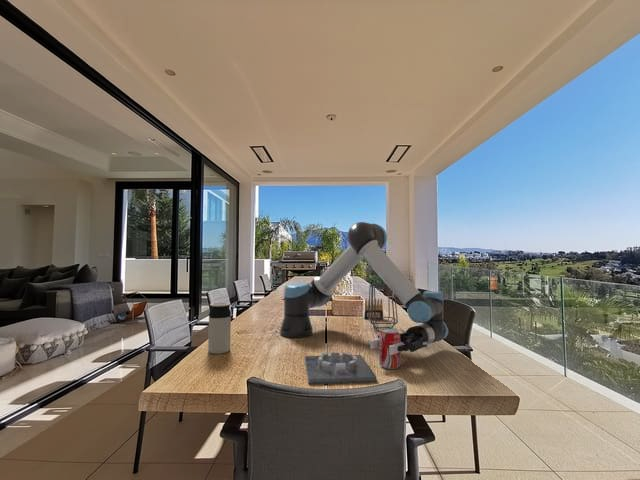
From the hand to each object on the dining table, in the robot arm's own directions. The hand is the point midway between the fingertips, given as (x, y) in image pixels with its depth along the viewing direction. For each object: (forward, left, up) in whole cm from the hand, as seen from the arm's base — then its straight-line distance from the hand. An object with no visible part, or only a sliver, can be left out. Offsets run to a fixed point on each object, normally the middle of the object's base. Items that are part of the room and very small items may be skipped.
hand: (380, 347), depth 103 cm
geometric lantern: (+16, +53, -7) cm, 56 cm away
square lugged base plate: (-14, +1, -7) cm, 16 cm away
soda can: (+4, +3, -7) cm, 9 cm away
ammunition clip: (+19, +78, -7) cm, 80 cm away
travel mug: (-56, +24, -7) cm, 61 cm away
